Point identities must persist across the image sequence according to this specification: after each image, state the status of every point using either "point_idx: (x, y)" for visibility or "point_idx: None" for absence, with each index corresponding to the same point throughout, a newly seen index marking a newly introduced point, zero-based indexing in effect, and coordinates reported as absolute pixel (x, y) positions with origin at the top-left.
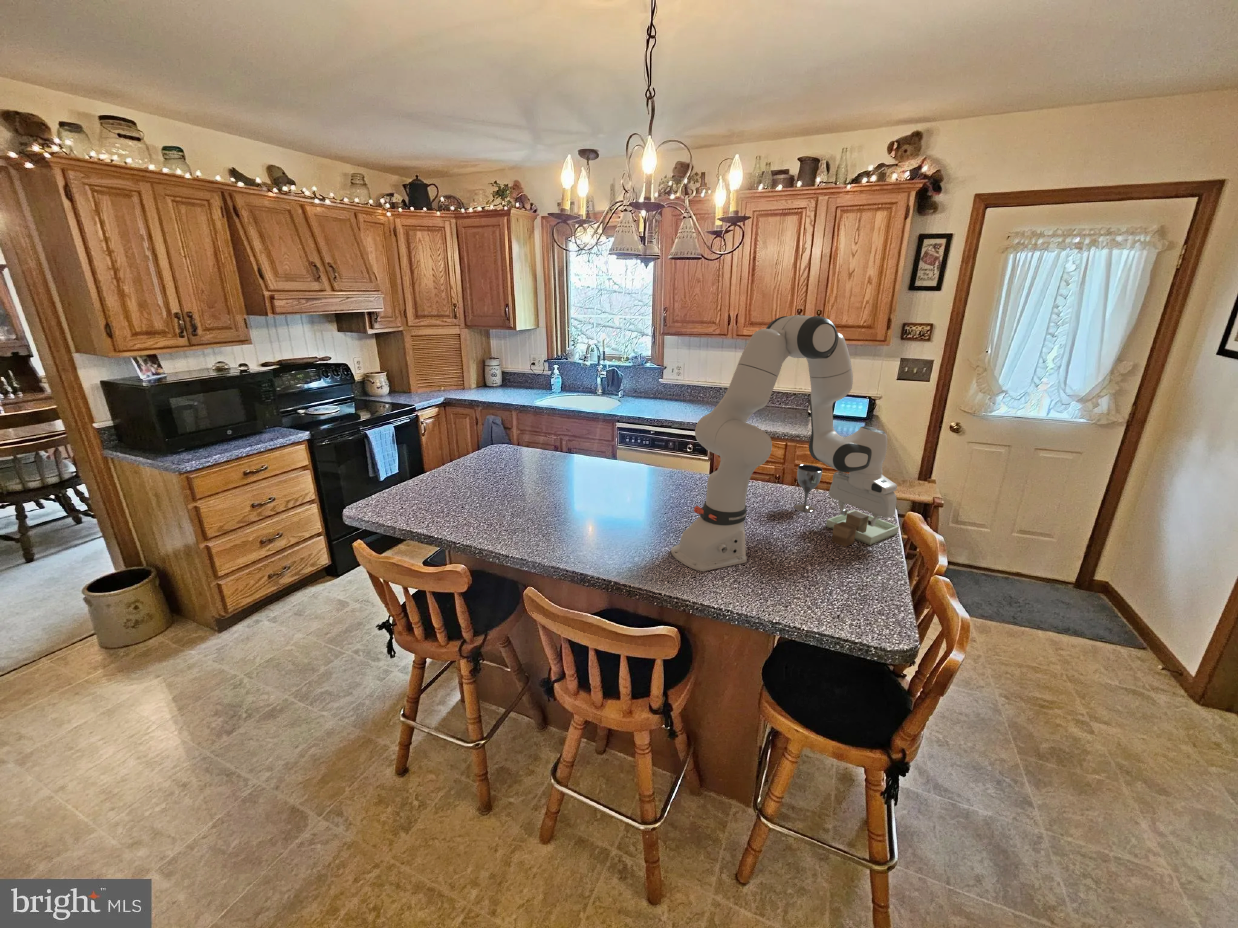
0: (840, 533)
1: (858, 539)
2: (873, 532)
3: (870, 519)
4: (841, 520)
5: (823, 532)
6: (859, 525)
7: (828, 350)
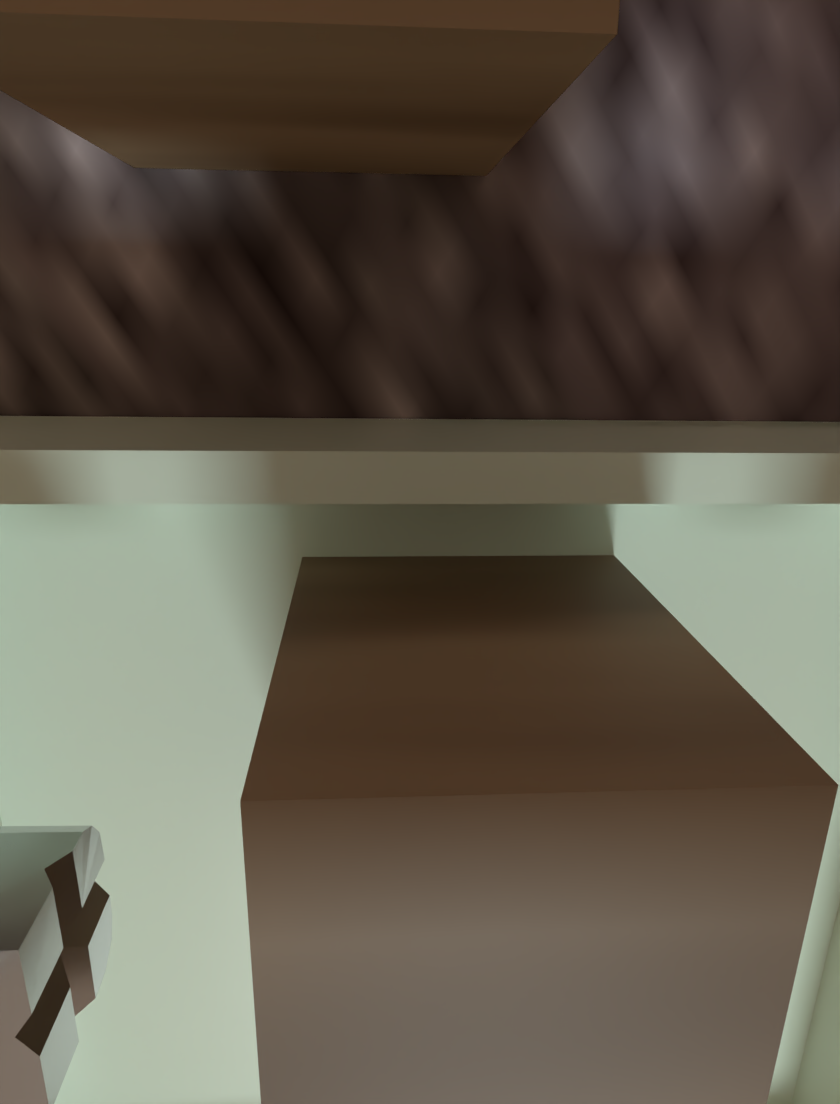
0: None
1: (182, 419)
2: (216, 904)
3: (31, 1053)
4: None
5: None
6: (278, 673)
7: None
